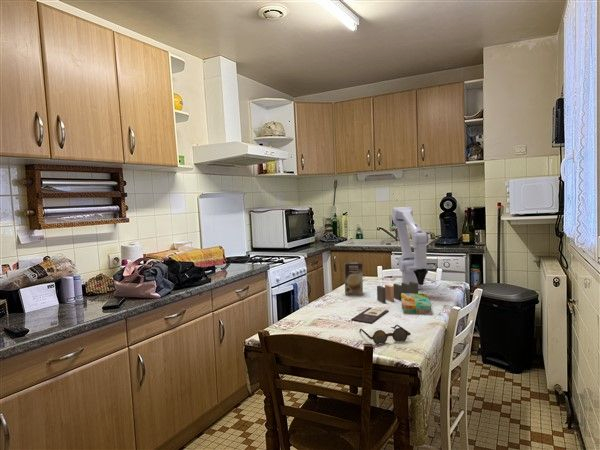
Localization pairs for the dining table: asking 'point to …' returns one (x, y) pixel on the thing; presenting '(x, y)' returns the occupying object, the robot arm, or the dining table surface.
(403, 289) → the domino
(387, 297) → the domino
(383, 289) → the domino
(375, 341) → the eyeglasses
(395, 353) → the dining table surface
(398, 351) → the dining table surface
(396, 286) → the domino
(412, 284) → the domino
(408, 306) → the puzzle game
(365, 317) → the chocolate bar
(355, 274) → the coffee box
